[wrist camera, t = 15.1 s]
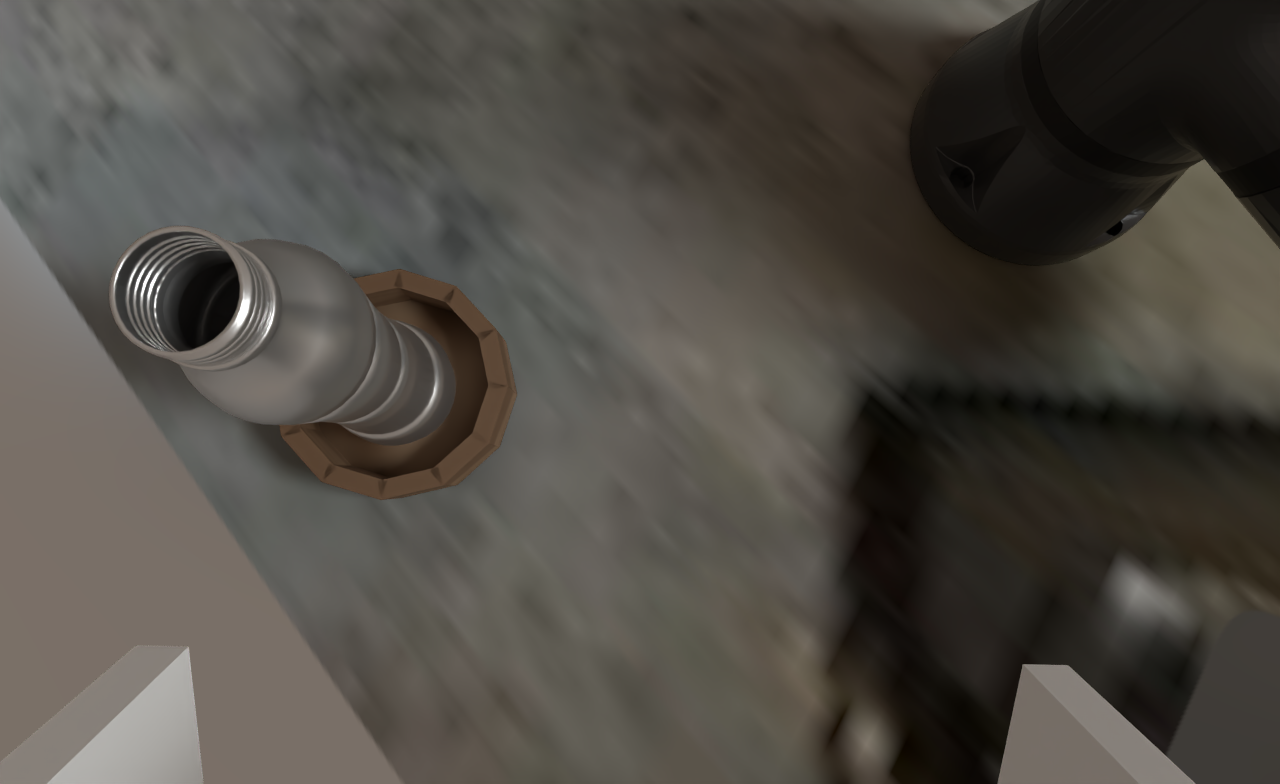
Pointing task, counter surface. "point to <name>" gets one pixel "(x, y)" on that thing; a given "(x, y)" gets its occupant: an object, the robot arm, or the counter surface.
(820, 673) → the counter surface
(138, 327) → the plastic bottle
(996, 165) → the robot arm
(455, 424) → the bowl
